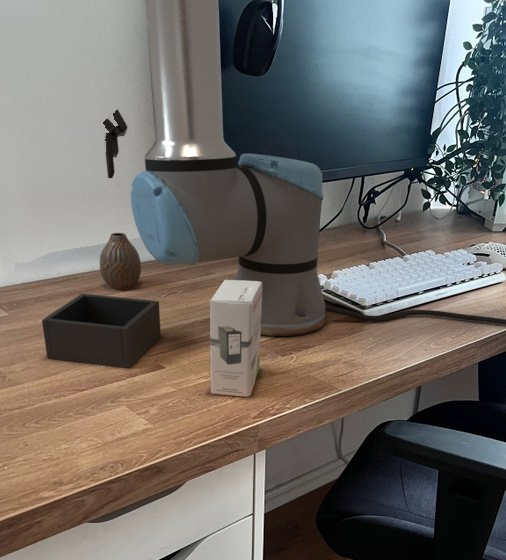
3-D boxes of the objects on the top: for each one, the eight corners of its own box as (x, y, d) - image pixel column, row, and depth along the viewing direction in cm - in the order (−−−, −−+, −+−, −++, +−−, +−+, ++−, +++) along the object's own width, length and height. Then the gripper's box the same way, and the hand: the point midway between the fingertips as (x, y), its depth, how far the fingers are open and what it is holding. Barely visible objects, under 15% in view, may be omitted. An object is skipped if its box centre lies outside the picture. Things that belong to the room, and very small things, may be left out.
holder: (160, 337, 98) (159, 301, 95) (129, 368, 88) (126, 329, 86) (85, 328, 100) (81, 293, 98) (46, 358, 91) (41, 319, 88)
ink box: (223, 366, 89) (223, 277, 84) (260, 369, 89) (263, 279, 83) (209, 394, 82) (208, 298, 76) (250, 398, 82) (252, 301, 76)
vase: (144, 291, 117) (141, 238, 112) (102, 293, 115) (98, 239, 111) (139, 279, 123) (136, 228, 118) (100, 281, 121) (95, 230, 117)
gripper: (128, 64, 122) (140, 184, 122) (-22, 50, 114) (-9, 179, 114) (136, 39, 115) (148, 167, 115) (-25, 23, 107) (-11, 161, 107)
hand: (70, 174), depth 115 cm, fingers open, 13 cm apart
